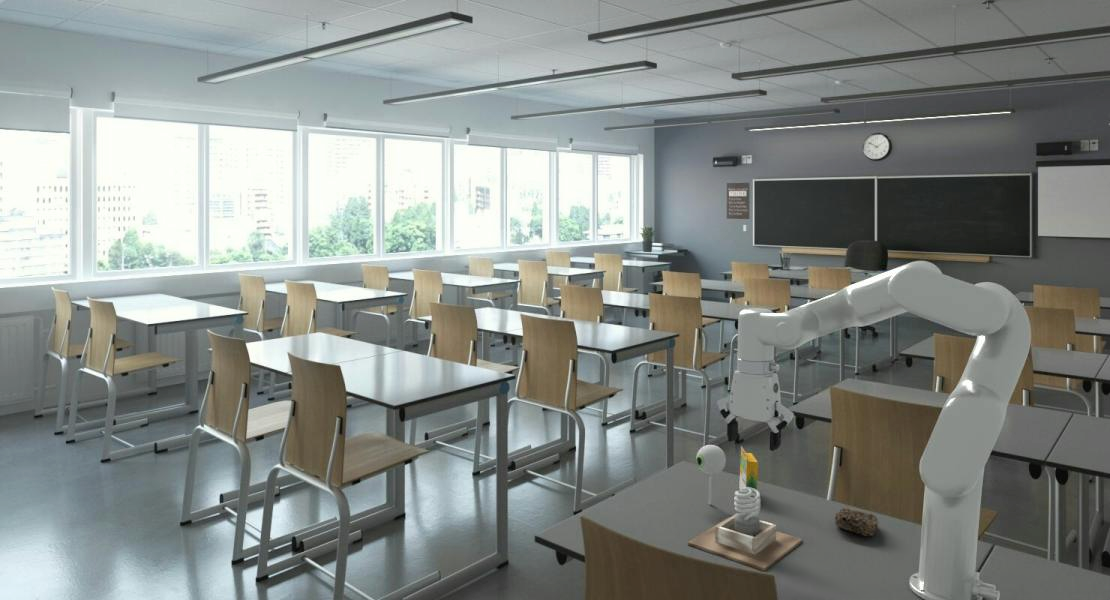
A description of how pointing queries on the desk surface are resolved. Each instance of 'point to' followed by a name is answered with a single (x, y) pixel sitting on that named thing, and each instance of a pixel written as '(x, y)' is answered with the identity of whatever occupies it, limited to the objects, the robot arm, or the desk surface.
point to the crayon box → (748, 471)
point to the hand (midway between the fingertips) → (753, 444)
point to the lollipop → (711, 462)
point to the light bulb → (747, 511)
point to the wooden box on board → (746, 543)
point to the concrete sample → (856, 521)
